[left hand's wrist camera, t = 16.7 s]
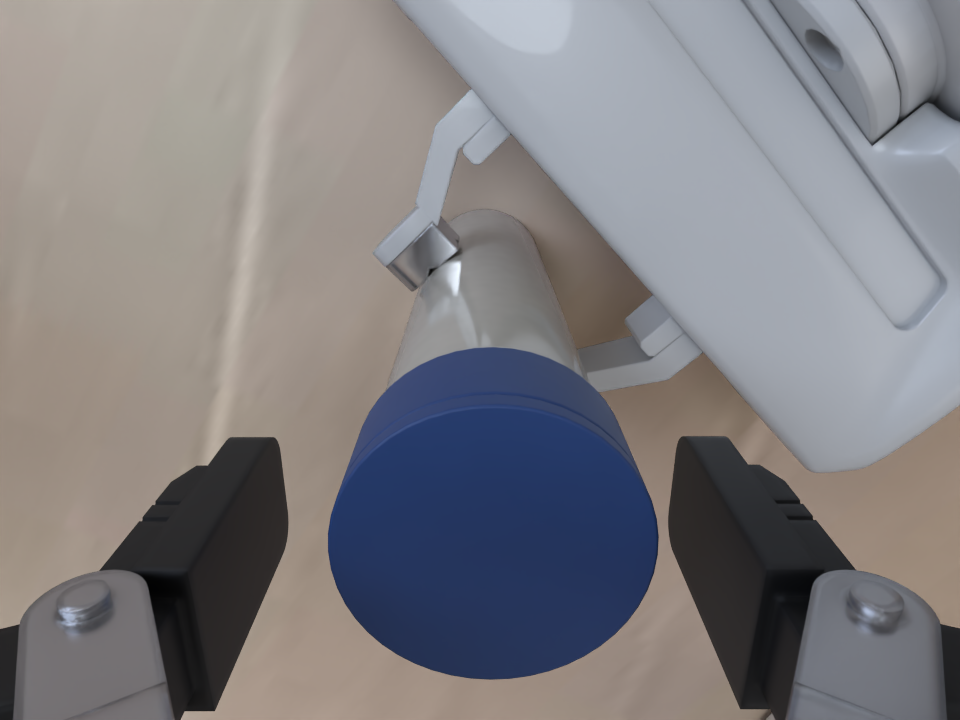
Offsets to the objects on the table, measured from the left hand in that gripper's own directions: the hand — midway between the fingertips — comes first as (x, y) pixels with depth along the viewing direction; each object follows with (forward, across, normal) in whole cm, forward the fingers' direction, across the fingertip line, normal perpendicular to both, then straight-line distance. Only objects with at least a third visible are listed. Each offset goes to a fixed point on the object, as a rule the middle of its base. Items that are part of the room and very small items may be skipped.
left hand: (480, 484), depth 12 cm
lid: (-2, 0, +1) cm, 2 cm away
